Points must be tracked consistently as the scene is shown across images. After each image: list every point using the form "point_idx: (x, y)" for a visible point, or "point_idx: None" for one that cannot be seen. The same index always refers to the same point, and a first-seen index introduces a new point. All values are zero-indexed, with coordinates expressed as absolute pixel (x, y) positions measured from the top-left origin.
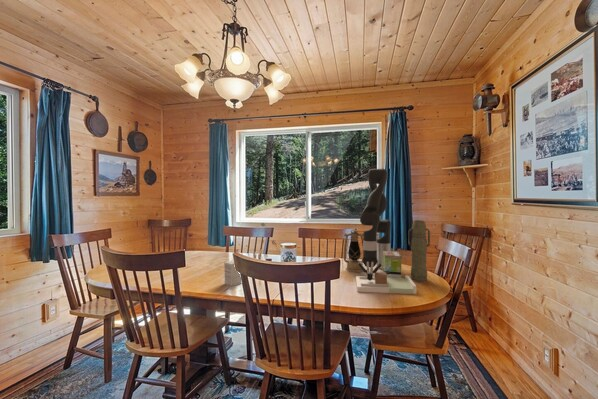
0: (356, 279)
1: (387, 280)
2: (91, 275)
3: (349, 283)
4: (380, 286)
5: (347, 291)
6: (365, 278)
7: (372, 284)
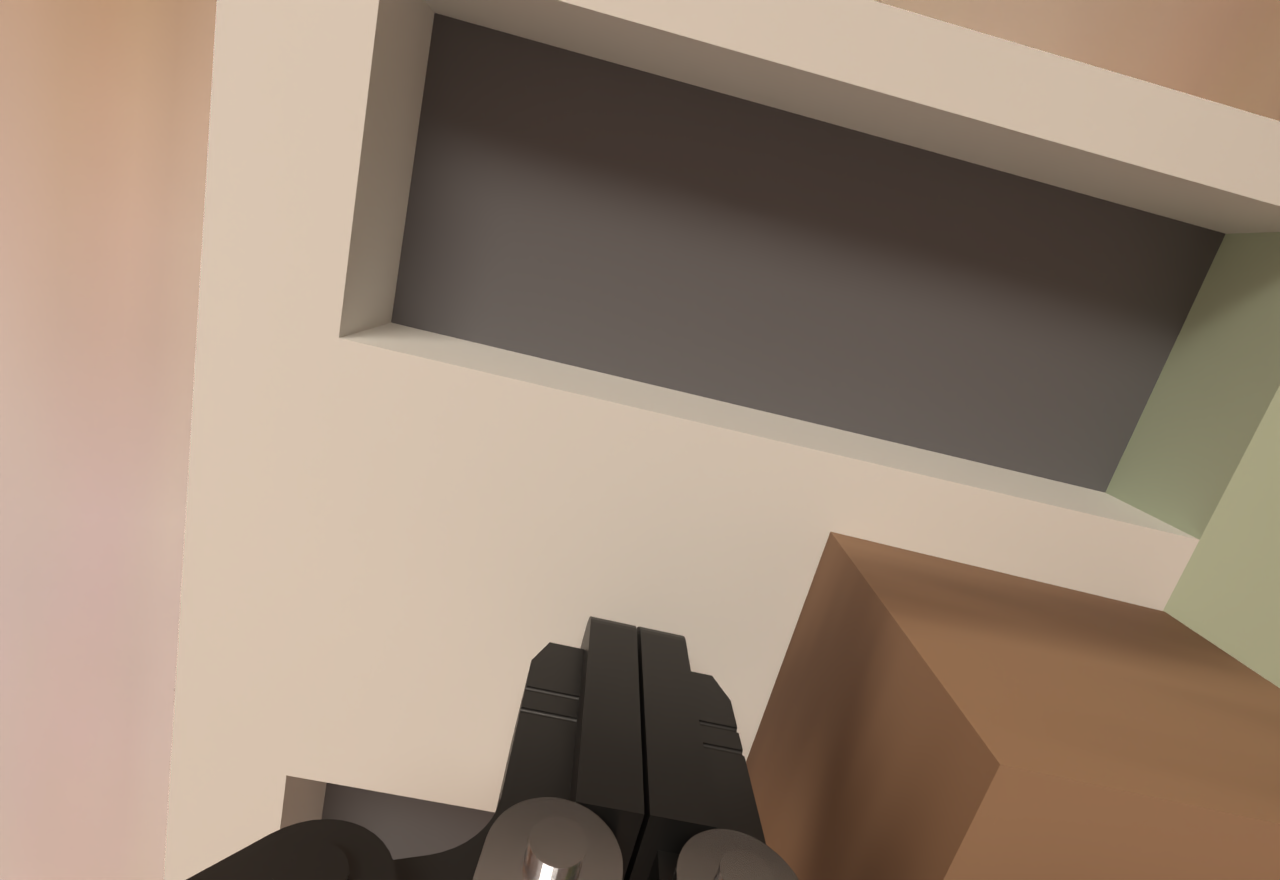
0: (202, 336)
1: (1255, 566)
2: None
3: (65, 246)
4: None
5: (5, 855)
6: (648, 42)
7: None
